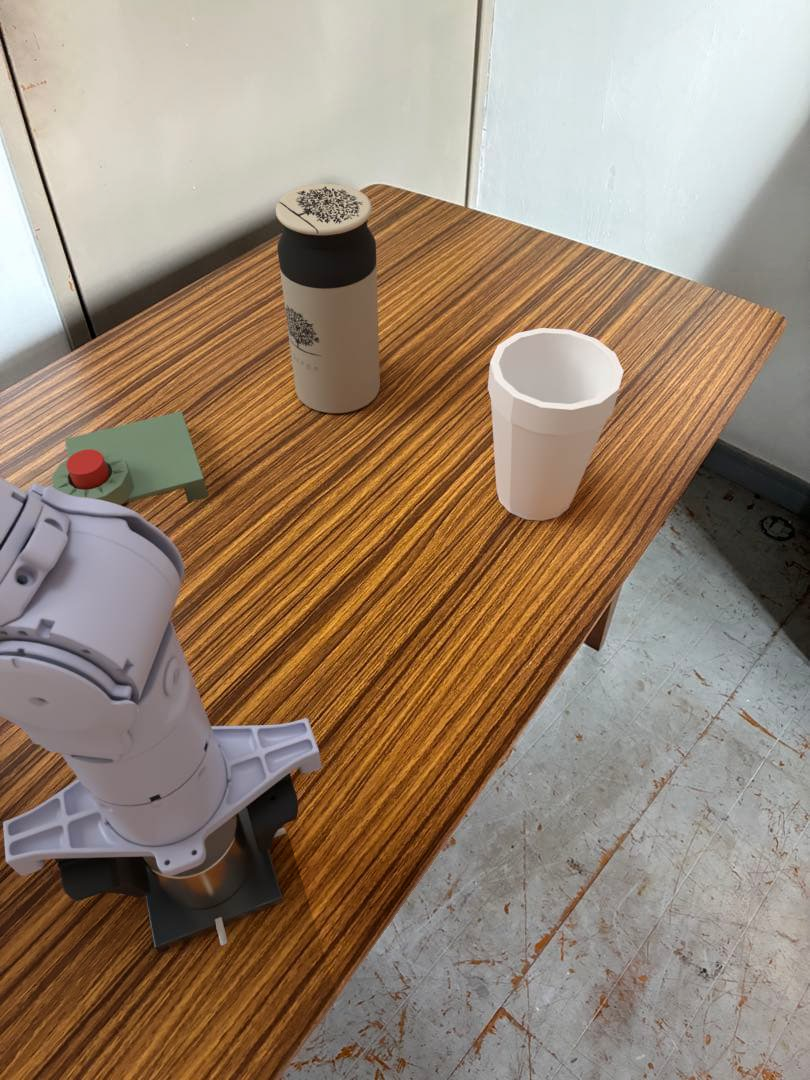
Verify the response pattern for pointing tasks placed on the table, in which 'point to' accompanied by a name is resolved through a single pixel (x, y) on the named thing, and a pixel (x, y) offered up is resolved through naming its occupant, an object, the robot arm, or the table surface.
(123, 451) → the button block
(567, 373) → the foam cup
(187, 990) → the table surface
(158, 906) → the metal dial knob base
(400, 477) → the table surface
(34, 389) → the table surface
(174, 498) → the table surface
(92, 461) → the red button
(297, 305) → the travel mug
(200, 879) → the metal dial knob
